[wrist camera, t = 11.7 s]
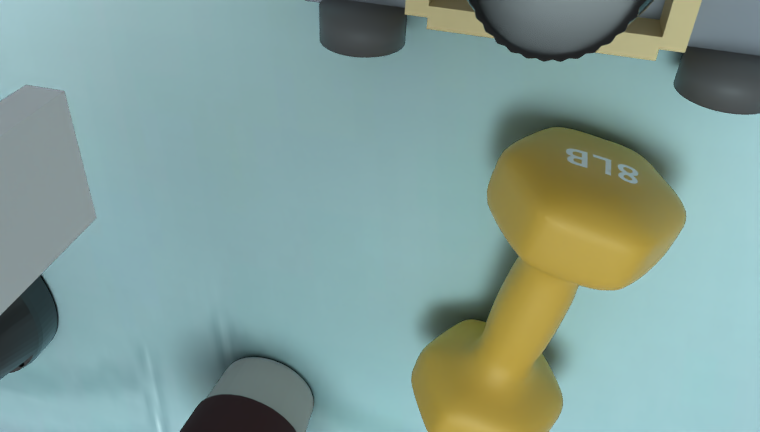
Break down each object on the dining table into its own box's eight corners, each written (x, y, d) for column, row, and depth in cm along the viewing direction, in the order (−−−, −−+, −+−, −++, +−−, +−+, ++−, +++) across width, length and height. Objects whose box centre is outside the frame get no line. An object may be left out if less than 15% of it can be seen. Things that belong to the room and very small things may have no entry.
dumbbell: (518, 92, 35) (498, 180, 28) (694, 153, 34) (715, 256, 28) (417, 338, 46) (387, 439, 40) (547, 386, 46) (537, 496, 39)
